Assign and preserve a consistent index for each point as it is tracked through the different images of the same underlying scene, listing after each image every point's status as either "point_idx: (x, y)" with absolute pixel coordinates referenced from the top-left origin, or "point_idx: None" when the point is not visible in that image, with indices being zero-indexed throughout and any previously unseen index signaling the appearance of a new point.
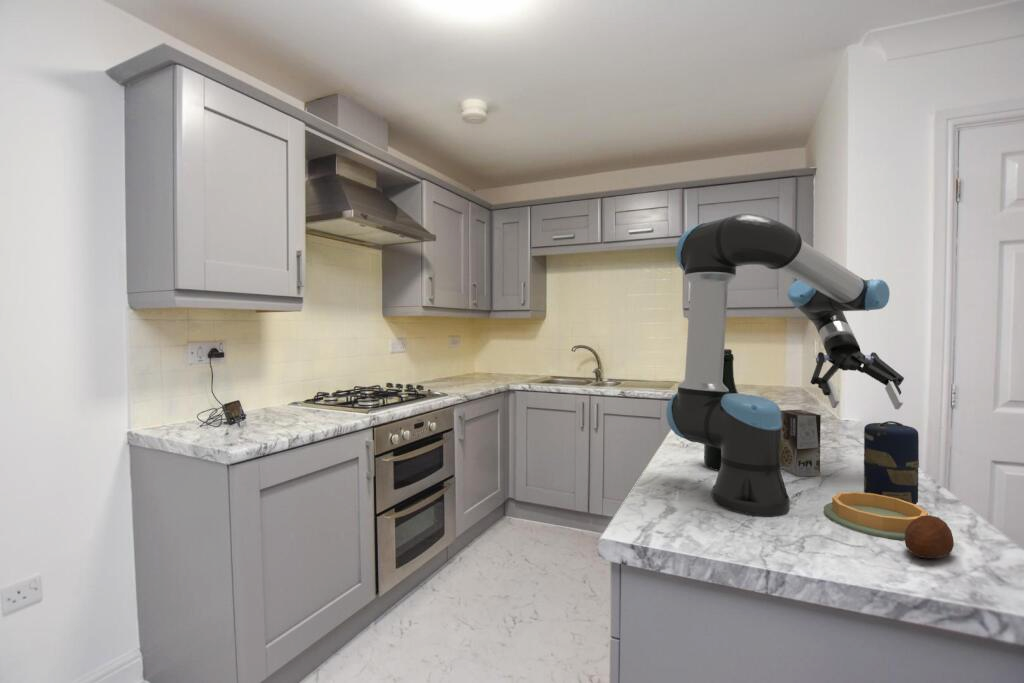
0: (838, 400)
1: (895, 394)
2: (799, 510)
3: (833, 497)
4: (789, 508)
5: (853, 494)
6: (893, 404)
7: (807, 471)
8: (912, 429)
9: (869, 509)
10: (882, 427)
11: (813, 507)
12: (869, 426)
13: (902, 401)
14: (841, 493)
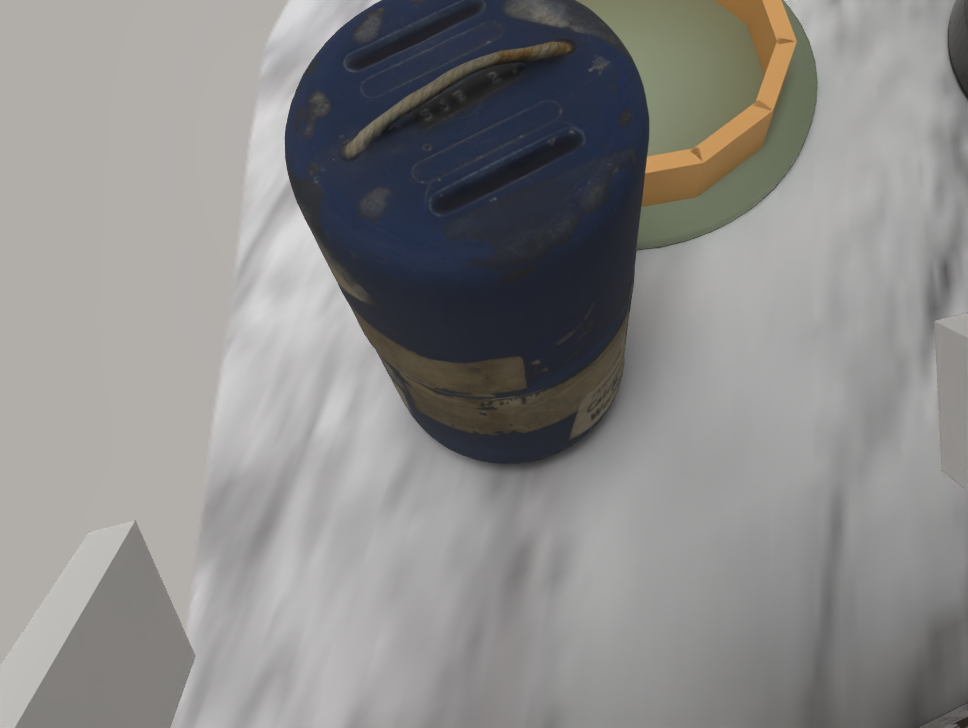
0: (951, 324)
1: (80, 624)
2: (908, 69)
3: (791, 45)
4: (951, 34)
5: (699, 145)
6: (169, 702)
7: (936, 723)
8: (337, 37)
9: None
10: (539, 12)
11: (855, 130)
12: (622, 58)
13: (84, 546)
14: (754, 115)
